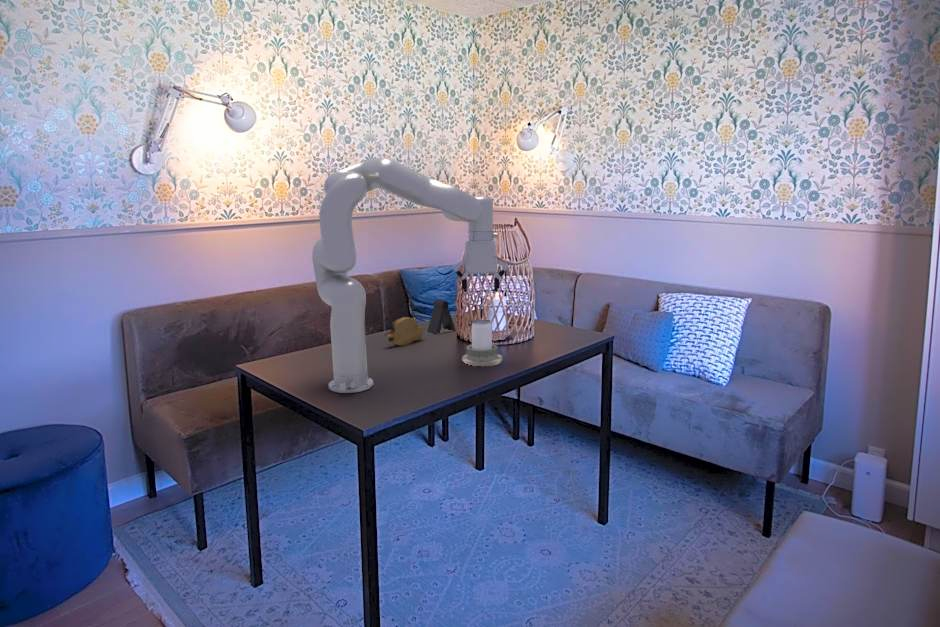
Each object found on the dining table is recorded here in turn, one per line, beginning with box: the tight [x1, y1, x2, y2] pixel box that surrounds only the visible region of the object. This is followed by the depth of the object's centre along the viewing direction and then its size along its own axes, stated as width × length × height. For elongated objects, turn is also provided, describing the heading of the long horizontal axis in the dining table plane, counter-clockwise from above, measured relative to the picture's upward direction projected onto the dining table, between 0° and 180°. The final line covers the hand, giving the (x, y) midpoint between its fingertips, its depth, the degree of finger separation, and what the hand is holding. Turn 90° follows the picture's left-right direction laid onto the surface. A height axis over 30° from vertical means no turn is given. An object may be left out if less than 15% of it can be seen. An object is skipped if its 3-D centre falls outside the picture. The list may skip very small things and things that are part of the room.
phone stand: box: [427, 299, 456, 334], centre depth 243 cm, size 9×6×12 cm, turn 125°
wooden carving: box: [384, 316, 425, 347], centre depth 225 cm, size 16×5×10 cm, turn 139°
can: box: [471, 318, 493, 351], centre depth 204 cm, size 6×6×12 cm
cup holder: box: [461, 343, 503, 368], centre depth 205 cm, size 13×13×4 cm
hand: (480, 291), depth 200 cm, fingers open, 9 cm apart
